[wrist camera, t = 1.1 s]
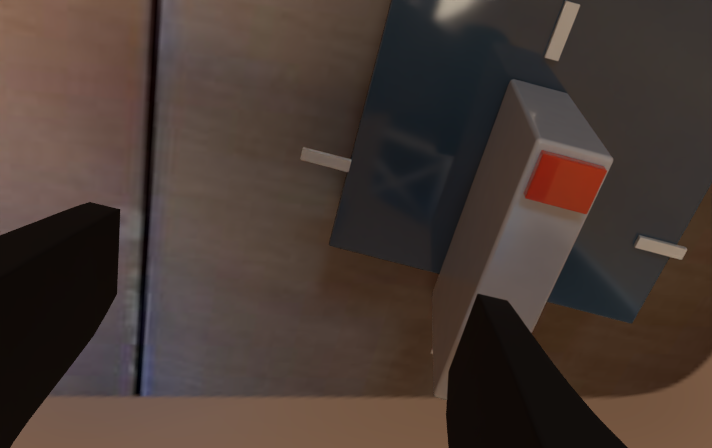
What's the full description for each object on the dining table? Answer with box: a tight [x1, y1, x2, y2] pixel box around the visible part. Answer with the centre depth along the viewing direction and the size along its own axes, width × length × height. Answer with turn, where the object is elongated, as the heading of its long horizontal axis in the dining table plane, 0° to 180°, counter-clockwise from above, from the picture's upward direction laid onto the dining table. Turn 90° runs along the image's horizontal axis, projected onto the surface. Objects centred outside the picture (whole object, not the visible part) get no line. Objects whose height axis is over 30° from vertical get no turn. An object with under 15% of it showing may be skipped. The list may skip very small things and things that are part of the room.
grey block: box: [432, 79, 613, 400], centre depth 16 cm, size 7×2×5 cm, turn 166°
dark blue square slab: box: [300, 0, 712, 354], centre depth 19 cm, size 12×11×3 cm
